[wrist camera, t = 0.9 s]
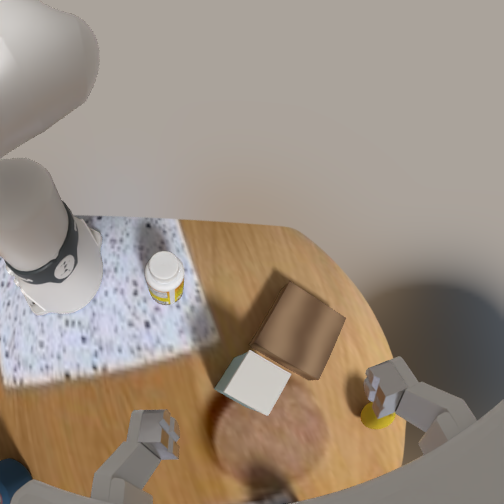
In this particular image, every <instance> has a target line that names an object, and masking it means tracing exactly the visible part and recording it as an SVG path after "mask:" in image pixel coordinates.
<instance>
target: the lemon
mask: <svg viewBox="0 0 504 504" xmlns="http://www.w3.org/2000/svg"><path fill="white" fill-rule="evenodd" d="M372 405H373V402H370V403H368V404H367V405H365V407H364V408H363V410H362V412H361V421H362V423H363V424H364V425H365V426H366V427H368V428H371V429H382V428H385V427H387V426H388V425H390V424H391V423H392V422H393V420H394V418H395V414H396V413H395V412H394V413H392V414H390V415H387V416H384V417H382V418H379V419H377V417H376V415H375V413H374V411H373V409H372Z"/></svg>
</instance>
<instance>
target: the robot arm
mask: <svg viewBox="0 0 504 504" xmlns="http://www.w3.org/2000/svg"><path fill="white" fill-rule="evenodd" d="M98 68H99V48H98V43H97V39H96V37H95V35H94V33H93V31H92V29H91V28H90V27H89V25H88V24H87V23H86V22H85V21H84V20H82V19H81V18H79V17H78V16H76V15H74V14H71V13H67V12H64V11H60V10H57V9H55V8H52V7H50V6H48V5H46V4H44V3H42V2H41V1H39V0H0V158H2V157H3V156H4V155H6V154H7V153H9V152H11V151H12V150H14V149H15V148H17V147H19V146H20V145H22V144H23V143H25V142H27V141H28V140H30V139H32V138H34V137H35V136H37V135H39V134H41V133H42V132H44V131H46V130H47V129H48V128H49V127H51V126H52V125H54V124H55V123H56V122H58V121H59V120H60V119H62V118H63V117H65V116H66V115H68V114H69V113H70V112H72V111H73V110H74V109H76V108H77V107H79V106H80V105H82V104H83V103H84V102H85V101H86V99H87V98H88V96H89V95H90V93H91V90H92V88H93V86H94V83H95V81H96V77H97V74H98ZM101 245H102V236H101V234H100V233H99V232H98V231H96V230H94V229H92V228H90V227H88V226H87V224H86V223H85V221H84V220H83V219H79V218H77V217H75V216H73V214H72V212H71V211H70V209H69V208H68V207H67V205H66V204H65V203H64V202H63V201H62V200H61V198H60V196H59V194H58V191H57V189H56V187H55V184H54V182H53V180H52V178H51V175H50V173H49V172H48V171H47V170H46V169H45V168H44V167H43V166H42V165H40V164H39V163H37V162H35V161H33V160H30V159H27V158H12V159H0V256H1V257H2V258H3V259H4V261H5V263H6V264H7V265H6V269H7V271H8V273H9V274H10V275H11V276H15V279H14V282H15V284H16V285H17V286H18V287H19V286H20V289H21V291H22V293H23V295H24V297H25V299H26V300H27V302H28V304H29V306H30V308H31V310H32V311H33V313H34V314H36V315H37V316H41V315H45V314H47V313H58V314H69V313H73V312H76V311H78V310H80V309H82V308H83V307H85V306H86V305H87V304H88V303H89V302H90V301H91V300H92V299H93V297H94V296H95V294H96V293H97V291H98V289H99V287H100V284H101V281H102V275H103V263H102V259H101V254H100V249H101ZM34 303H35V304H34ZM366 375H367V378H366V379H365V380H364V391H365V394H366V396H367V399H368V400H370V401H372V402H373V405H372V409H373V411H374V413H375V415H376V417H377V419H379V418H382V417H384V416H387V415H390V414H392V413H394V412H395V413H396V414H397V415H399V416H400V417H402V418H404V419H405V420H407V421H408V422H410V423H411V424H413V425H415V426H416V427H418V428H420V429H421V430H423V431H424V432H426V433H425V434H424V436H423V437H422V438H421V440H420V441H419V446H420V448H421V450H422V452H423V454H424V455H423V456H421V457H419V458H418V459H416V460H414V461H412V462H410V463H408V464H406V465H404V466H402V467H399V468H397V469H395V470H393V471H391V472H389V473H386V474H384V475H382V476H379V477H377V478H374V479H372V480H369V481H367V482H364V483H361V484H358V485H356V486H353V487H350V488H347V489H344V490H341V491H337V492H334V493H331V494H327V495H324V496H320V497H316V498H312V499H308V500H304V501H299V502H294V503H289V504H504V399H503V400H502V401H501V402H500V403H499V404H498V405H496V406H495V407H494V408H493V409H492V410H491V411H489V412H488V413H487V414H485V415H484V416H483V417H482V418H480V419H479V420H478V421H477V420H476V418H475V417H474V415H473V413H472V412H471V411H470V409H469V407H468V406H467V405H466V403H465V402H464V400H463V399H461V398H458V397H456V396H453V395H451V394H449V393H446V392H444V391H442V390H439V389H437V388H435V387H433V386H430V385H428V384H426V383H424V382H420V383H419V382H418V381H417V379H416V378H415V376H414V375H413V373H412V372H411V370H410V369H409V367H408V366H407V364H406V363H405V361H404V360H403V359H402V358H401V357H400V356H399V357H396V358H393V359H391V360H388V361H385V362H383V363H380V364H378V365H375V366H373V367H370V368H368V369H367V370H366ZM170 415H171V413H170V412H169V411H168V410H167V409H164V410H134V411H133V412H132V414H131V419H130V424H129V430H128V435H127V441H126V442H123V443H122V444H121V445H120V446H119V447H118V448H117V450H116V451H115V452H114V453H113V454H112V455H111V456H110V457H109V458H108V459H107V460H106V462H105V463H104V464H103V465H102V466H101V467H100V468H99V469H98V470H97V471H96V472H95V473H94V479H93V485H92V492H91V498H89V497H85V496H81V495H78V494H75V493H71V492H68V491H65V490H62V489H59V488H56V487H54V486H51V485H48V484H46V483H43V482H40V481H38V480H30V481H29V482H27V483H26V484H25V485H23V486H22V487H21V488H20V489H19V490H17V491H16V492H15V494H14V495H13V497H12V500H11V503H10V504H153V497H152V496H151V495H150V494H148V493H147V492H145V491H143V490H142V489H143V487H144V486H145V484H146V483H147V481H148V480H149V478H150V477H151V475H152V474H153V472H154V471H155V469H156V468H157V466H158V465H159V463H160V461H161V460H164V459H179V445H178V444H177V443H176V442H177V440H178V439H179V438H180V430H179V425H178V423H177V421H176V420H175V418H172V417H170Z"/></svg>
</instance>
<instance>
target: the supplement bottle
mask: <svg viewBox="0 0 504 504" xmlns="http://www.w3.org/2000/svg"><path fill="white" fill-rule="evenodd" d="M145 278H146V281H147V284H148V288H149V291H150V294H151V296H152V298H153V299H154V300H155V301H156V302H157V303H159V304H162V305H171V304H174V303H176V302H177V301H178V300H179V299H180V298H181V296H182V294H183V286H184V267H183V264H182V262H181V261H180V260H179V259H178V258H177V257H176V256H175V255H174V254H172V253H171V252H168V251H160V252H157V253H155V254H154V255H153V256H152V257H151V259H150V260H149V261H148V263H147V265H146V268H145Z"/></svg>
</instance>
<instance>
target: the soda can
mask: <svg viewBox="0 0 504 504" xmlns="http://www.w3.org/2000/svg"><path fill="white" fill-rule="evenodd" d="M30 480H33V479H32V476H31V474H30V473H29V471H28V470H27V469H26V467H25V466H24V465H22V464H21V463H19V462H18V461H16V460H14V459H10V458H8V459H4V460H1V461H0V504H10V503H11V500H12V497H13V495H14V494H15V492H16V491H17V490H19V489H20V488H21V487H22V486H23V485H25V484H26V483H27V482H29V481H30Z"/></svg>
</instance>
